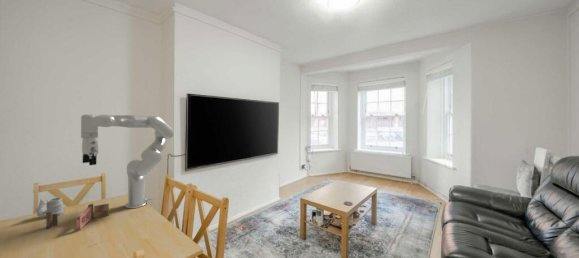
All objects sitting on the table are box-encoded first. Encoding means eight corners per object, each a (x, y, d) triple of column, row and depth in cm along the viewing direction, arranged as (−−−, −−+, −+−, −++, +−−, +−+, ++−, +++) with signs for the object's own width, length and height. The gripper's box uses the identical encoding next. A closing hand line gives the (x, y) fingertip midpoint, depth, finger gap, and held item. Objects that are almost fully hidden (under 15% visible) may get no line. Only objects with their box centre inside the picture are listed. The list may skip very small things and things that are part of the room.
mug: (66, 213, 140) (66, 194, 139) (41, 221, 129) (40, 201, 128) (59, 211, 142) (58, 193, 142) (33, 219, 131) (32, 199, 130)
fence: (108, 213, 142) (108, 200, 141) (108, 215, 139) (108, 202, 139) (47, 226, 124) (46, 211, 124) (46, 229, 121) (45, 213, 121)
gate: (88, 218, 133) (87, 207, 132) (91, 218, 133) (91, 206, 133) (76, 230, 120) (76, 216, 120) (80, 229, 121) (80, 216, 120)
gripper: (103, 136, 132) (103, 164, 133) (91, 134, 141) (91, 160, 142) (87, 136, 126) (87, 166, 127) (75, 134, 135) (75, 162, 135)
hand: (89, 163), depth 134 cm, fingers open, 9 cm apart
